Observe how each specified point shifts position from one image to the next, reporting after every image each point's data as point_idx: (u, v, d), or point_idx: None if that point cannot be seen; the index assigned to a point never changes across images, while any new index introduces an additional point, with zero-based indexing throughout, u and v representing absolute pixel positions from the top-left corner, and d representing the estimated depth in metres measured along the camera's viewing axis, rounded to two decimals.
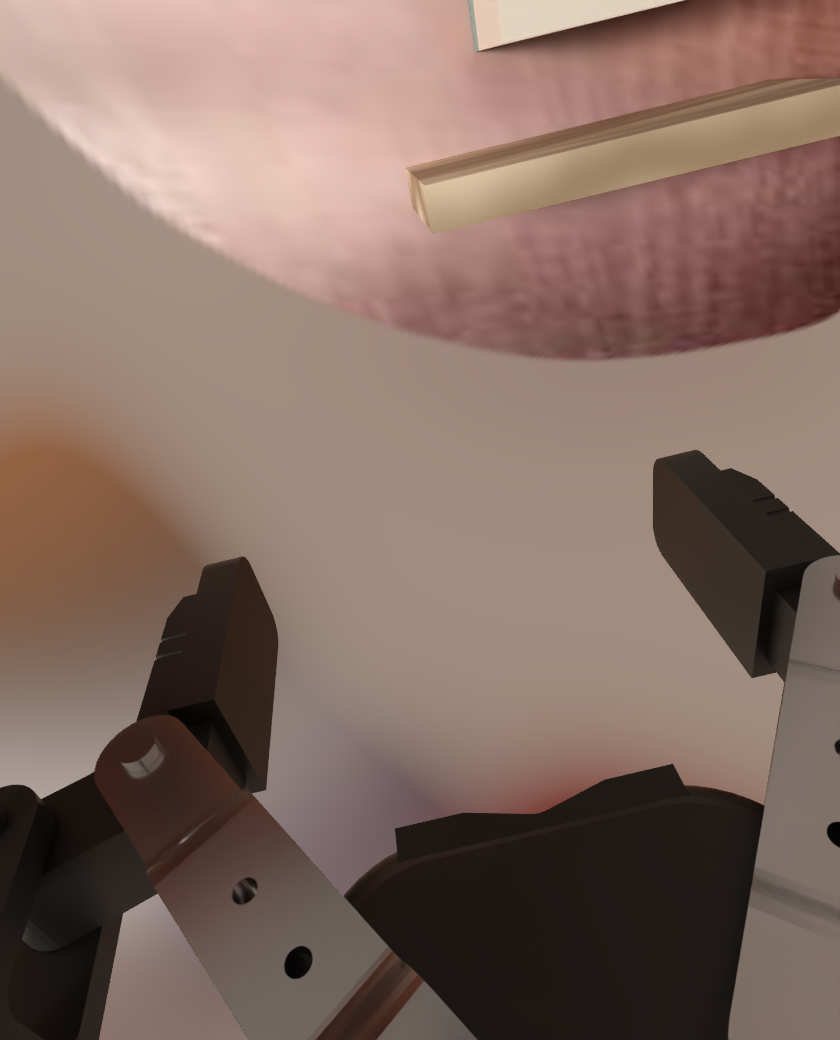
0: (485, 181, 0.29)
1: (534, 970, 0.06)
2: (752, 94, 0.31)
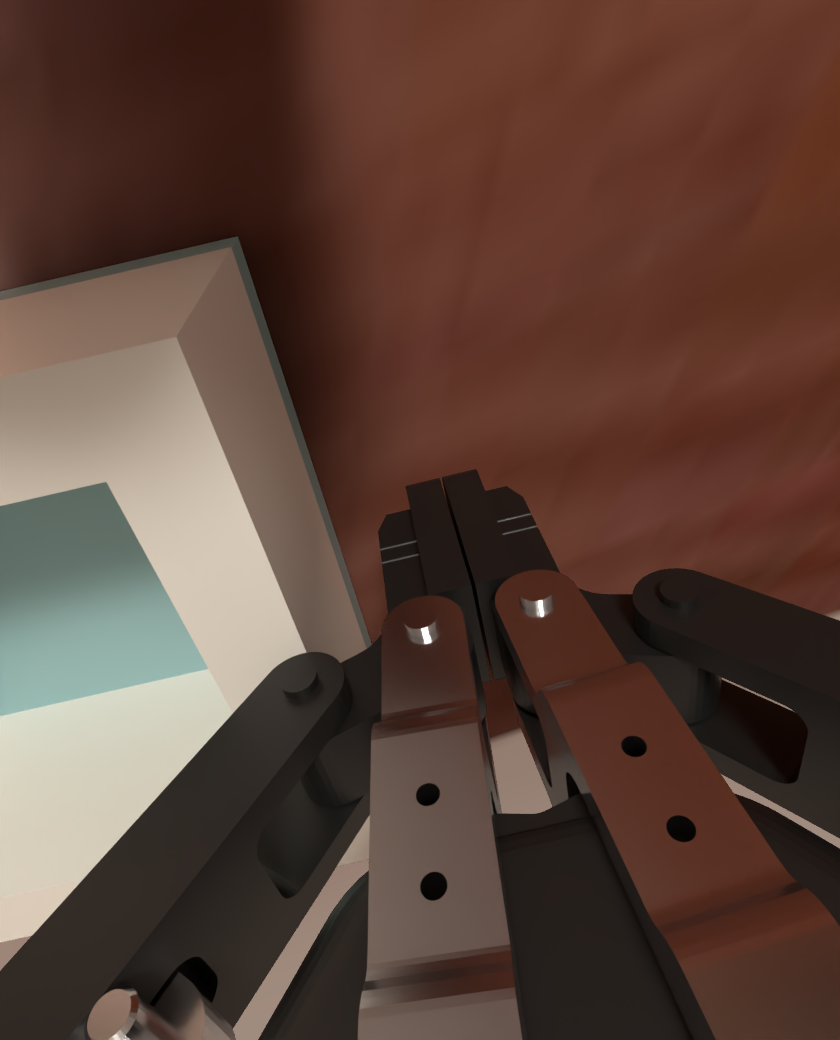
0: None
1: (533, 971, 0.06)
2: None
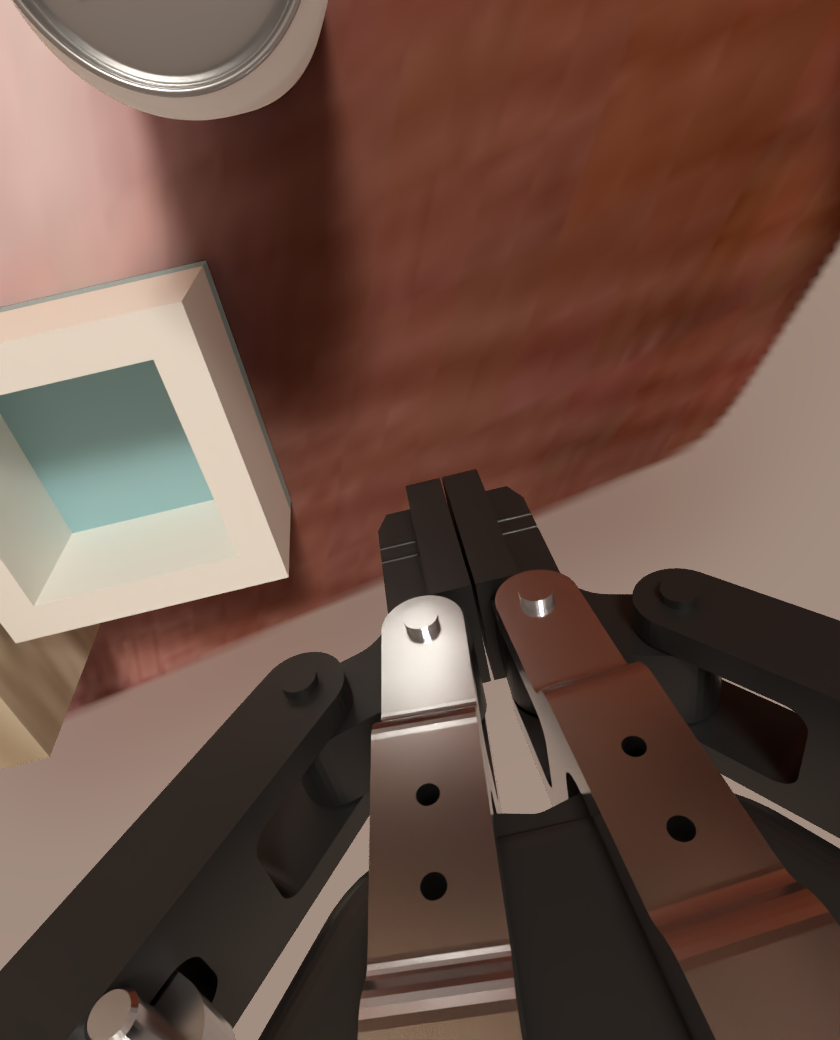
0: None
1: (533, 970, 0.06)
2: None
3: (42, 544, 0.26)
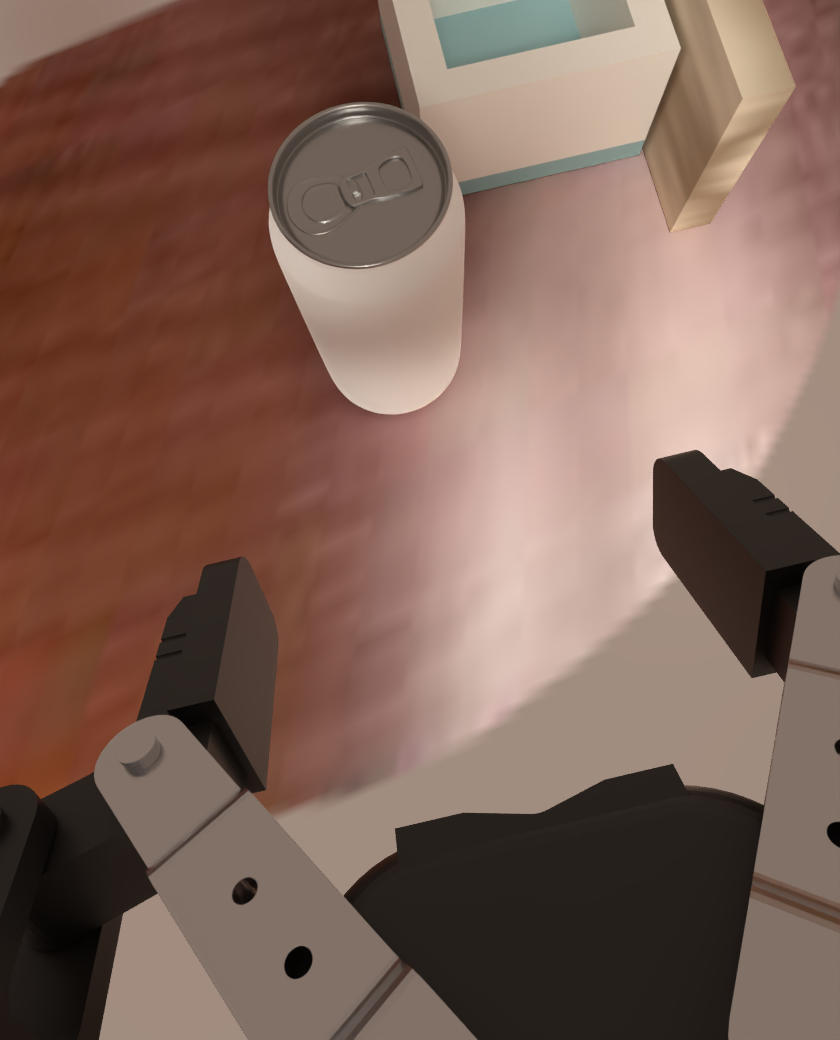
0: (731, 35, 0.24)
1: (535, 971, 0.06)
2: None
3: None
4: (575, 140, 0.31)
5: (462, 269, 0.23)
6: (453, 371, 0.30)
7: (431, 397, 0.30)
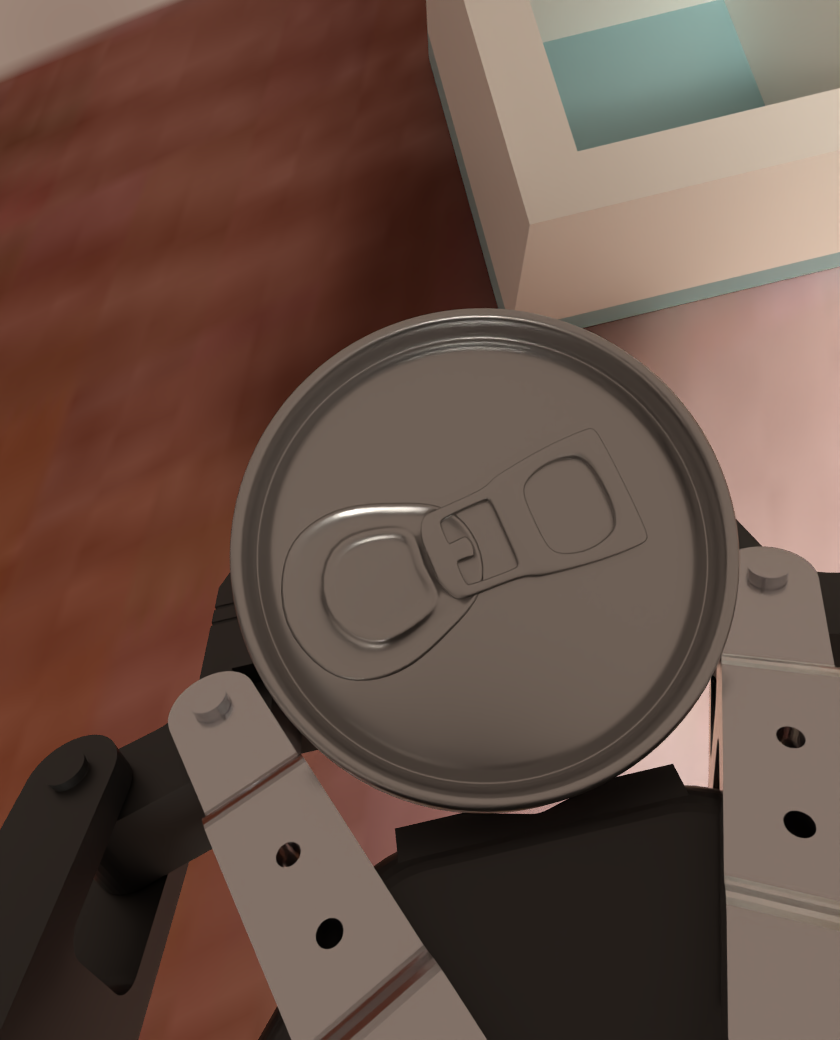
0: None
1: (533, 970, 0.06)
2: None
3: None
4: (768, 252, 0.18)
5: None
6: None
7: None
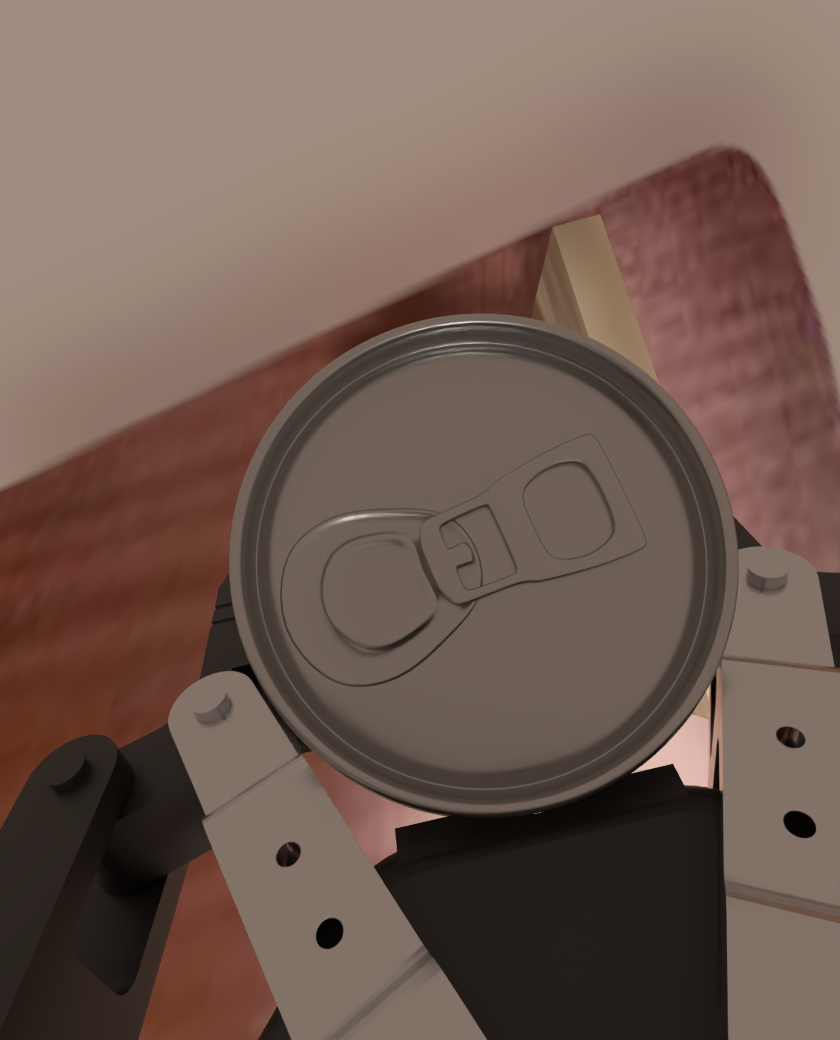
0: None
1: (534, 970, 0.06)
2: None
3: None
4: None
5: None
6: None
7: None
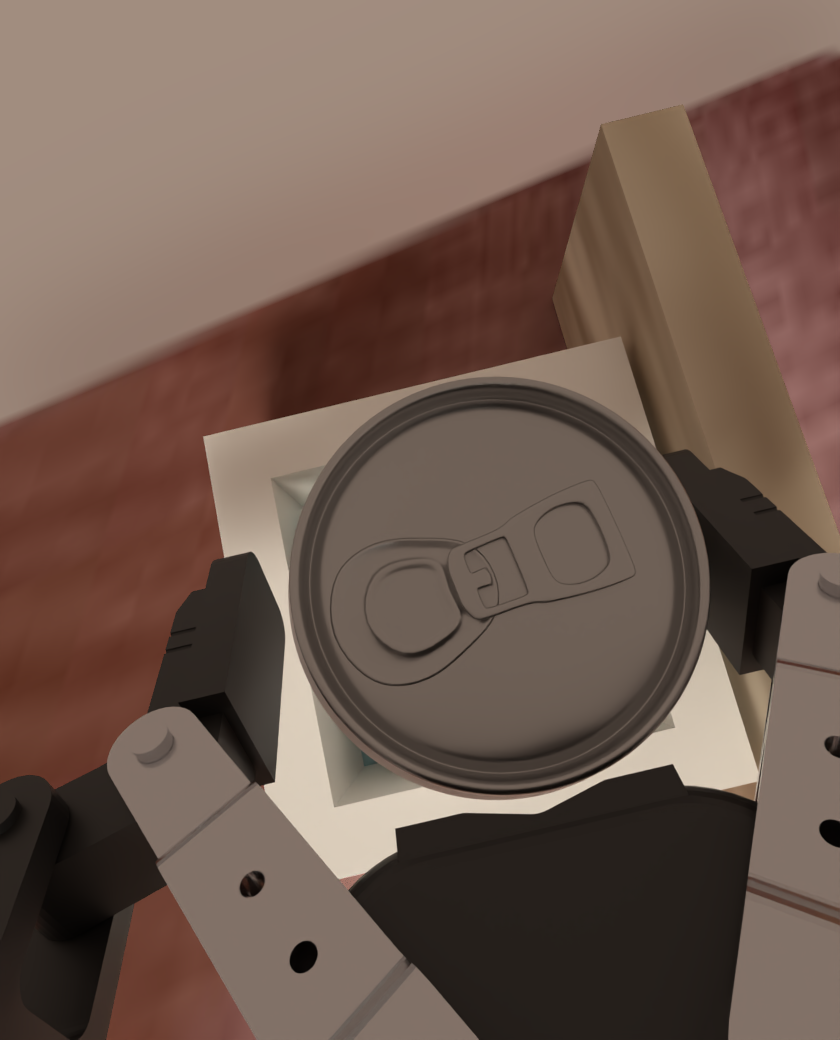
0: None
1: (534, 971, 0.06)
2: (602, 322, 0.19)
3: None
4: None
5: None
6: None
7: None
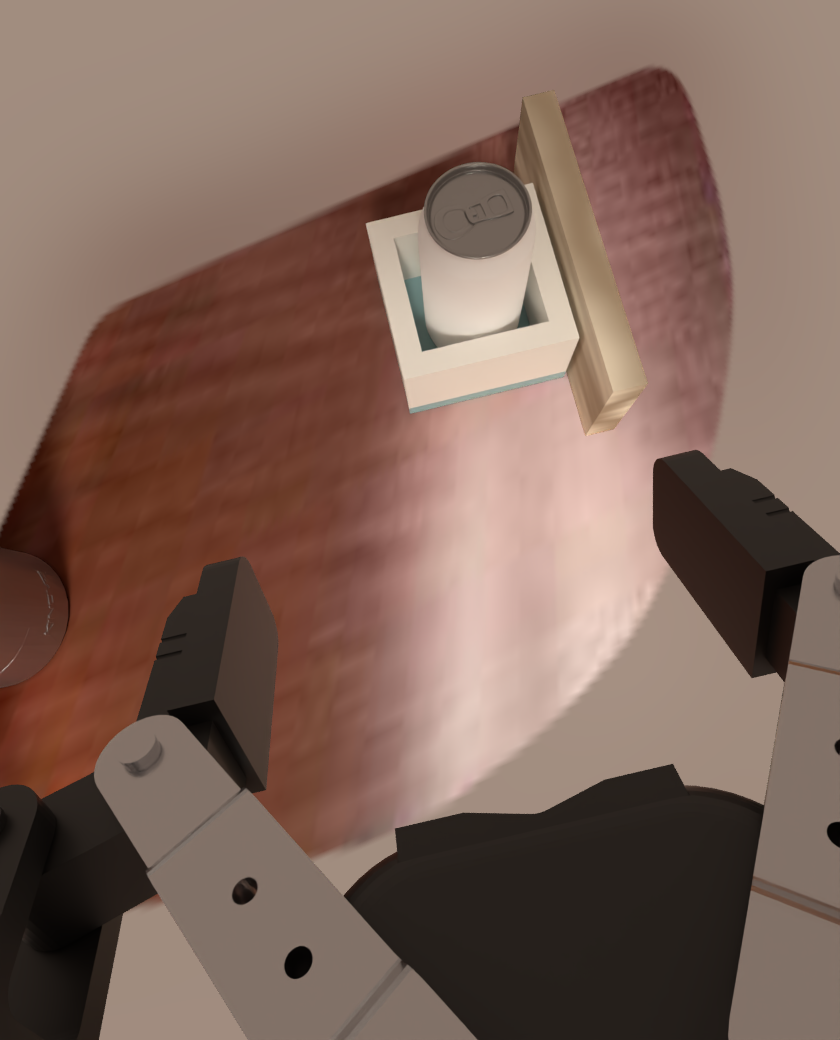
0: (607, 346, 0.37)
1: (533, 970, 0.06)
2: None
3: None
4: (514, 377, 0.43)
5: None
6: None
7: None
